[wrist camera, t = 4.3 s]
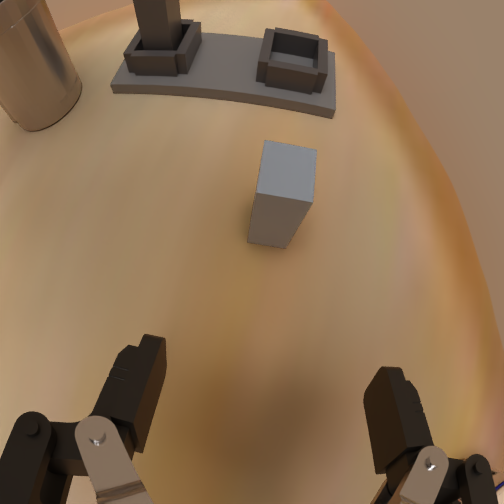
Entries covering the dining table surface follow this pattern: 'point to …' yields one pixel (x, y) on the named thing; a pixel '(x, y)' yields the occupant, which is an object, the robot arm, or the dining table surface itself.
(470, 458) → the robot arm
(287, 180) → the plug
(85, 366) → the dining table surface
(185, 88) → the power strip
